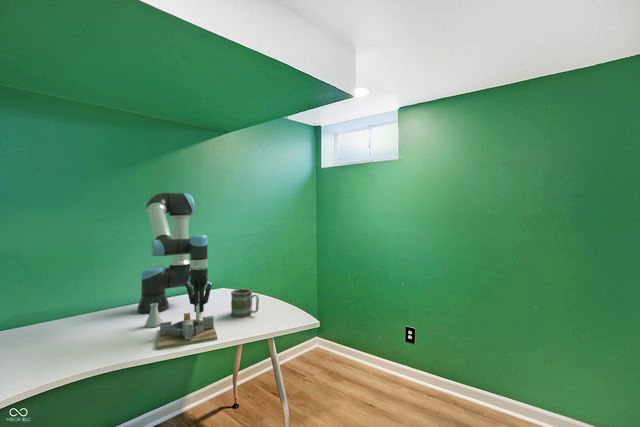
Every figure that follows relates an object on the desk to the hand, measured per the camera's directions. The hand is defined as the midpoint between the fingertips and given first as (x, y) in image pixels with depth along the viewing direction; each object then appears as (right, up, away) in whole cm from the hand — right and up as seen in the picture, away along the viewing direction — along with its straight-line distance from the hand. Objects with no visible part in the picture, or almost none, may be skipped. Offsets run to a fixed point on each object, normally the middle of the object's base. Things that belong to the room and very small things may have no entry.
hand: (199, 319), depth 139 cm
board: (-1, -3, -9) cm, 10 cm away
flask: (-22, -4, +2) cm, 22 cm away
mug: (+18, -4, +16) cm, 24 cm away
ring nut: (-1, -2, -9) cm, 9 cm away
